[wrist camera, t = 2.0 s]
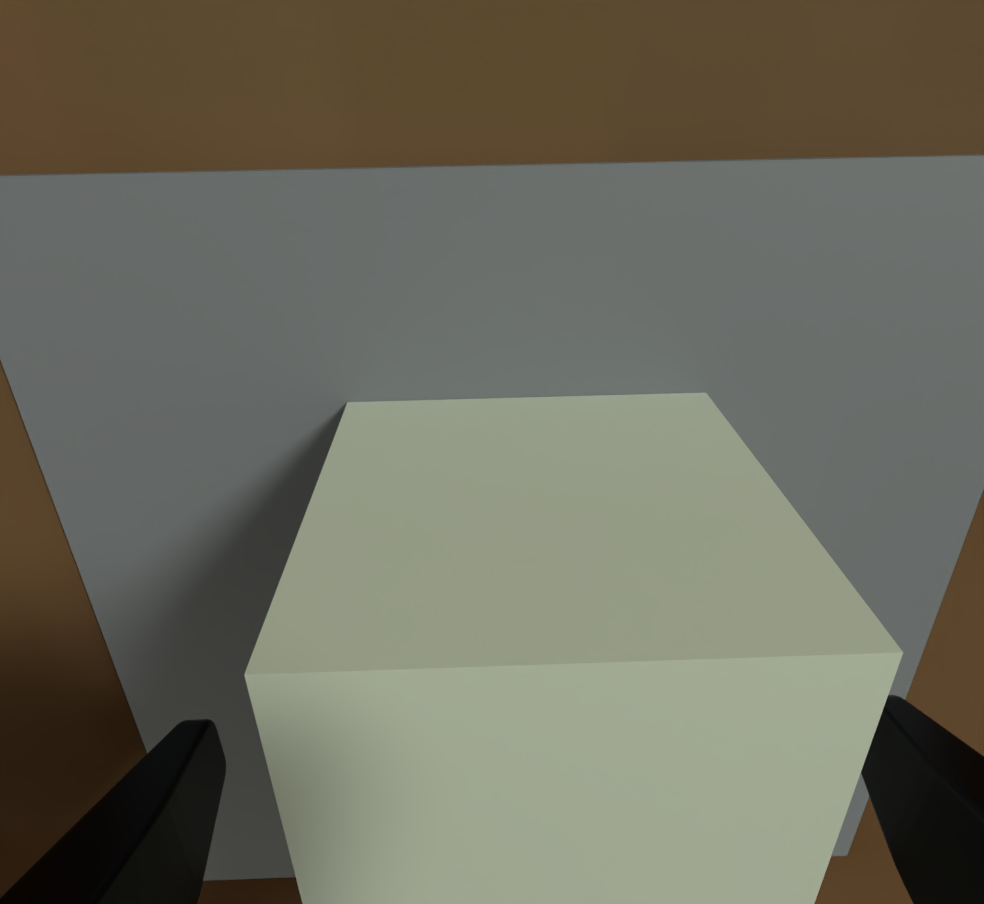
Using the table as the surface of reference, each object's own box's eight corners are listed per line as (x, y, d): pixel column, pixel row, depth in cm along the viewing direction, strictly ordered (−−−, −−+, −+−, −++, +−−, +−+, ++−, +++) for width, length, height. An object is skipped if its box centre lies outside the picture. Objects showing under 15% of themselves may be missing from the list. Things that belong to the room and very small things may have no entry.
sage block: (705, 392, 10) (903, 652, 5) (652, 771, 13) (741, 1106, 9) (346, 402, 10) (244, 674, 5) (395, 781, 13) (359, 1124, 9)
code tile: (1094, 151, 9) (1109, 153, 8) (842, 845, 15) (846, 856, 15) (-56, 175, 8) (-68, 177, 8) (198, 871, 15) (195, 881, 15)
